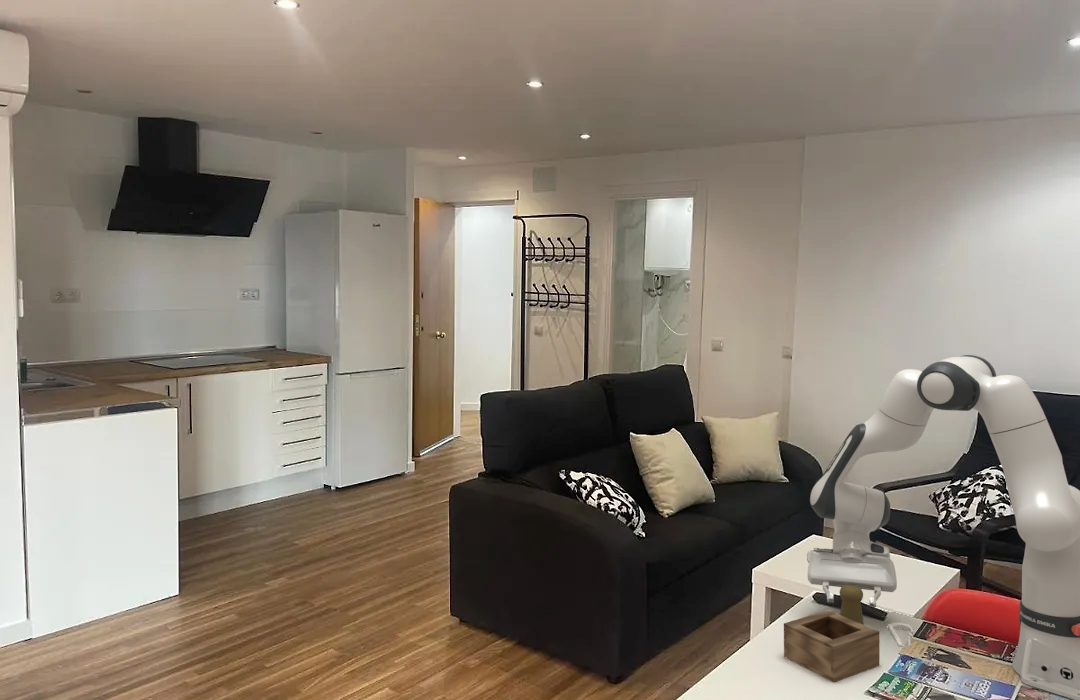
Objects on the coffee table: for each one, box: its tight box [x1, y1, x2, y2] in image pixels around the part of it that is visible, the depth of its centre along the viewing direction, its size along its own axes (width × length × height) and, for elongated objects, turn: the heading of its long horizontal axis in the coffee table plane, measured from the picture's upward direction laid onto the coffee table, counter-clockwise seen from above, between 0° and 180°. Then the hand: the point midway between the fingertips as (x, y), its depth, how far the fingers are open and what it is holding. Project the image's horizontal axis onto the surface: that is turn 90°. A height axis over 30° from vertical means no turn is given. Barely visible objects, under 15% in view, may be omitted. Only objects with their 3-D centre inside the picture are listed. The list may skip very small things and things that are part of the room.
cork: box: [839, 585, 865, 625], centre depth 189 cm, size 6×6×11 cm
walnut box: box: [783, 609, 881, 683], centre depth 175 cm, size 14×14×8 cm
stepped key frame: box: [887, 621, 914, 649], centre depth 186 cm, size 13×5×2 cm, turn 170°
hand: (851, 603), depth 190 cm, fingers open, 8 cm apart
